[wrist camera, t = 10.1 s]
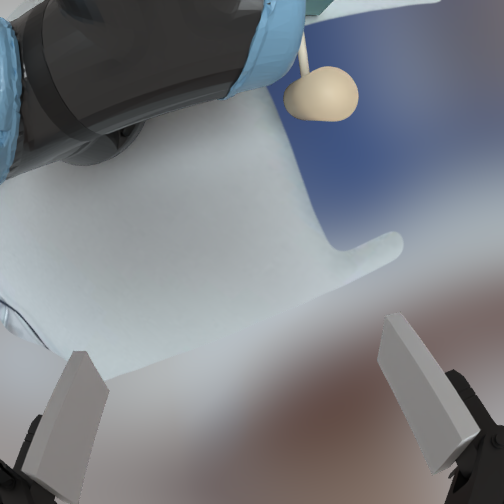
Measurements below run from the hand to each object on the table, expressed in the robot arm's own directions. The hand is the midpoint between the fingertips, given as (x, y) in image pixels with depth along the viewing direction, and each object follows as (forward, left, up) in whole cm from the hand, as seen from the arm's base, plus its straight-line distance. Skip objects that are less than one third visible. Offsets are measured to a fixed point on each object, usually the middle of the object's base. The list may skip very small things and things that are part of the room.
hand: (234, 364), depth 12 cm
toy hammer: (+10, +18, -27) cm, 34 cm away
